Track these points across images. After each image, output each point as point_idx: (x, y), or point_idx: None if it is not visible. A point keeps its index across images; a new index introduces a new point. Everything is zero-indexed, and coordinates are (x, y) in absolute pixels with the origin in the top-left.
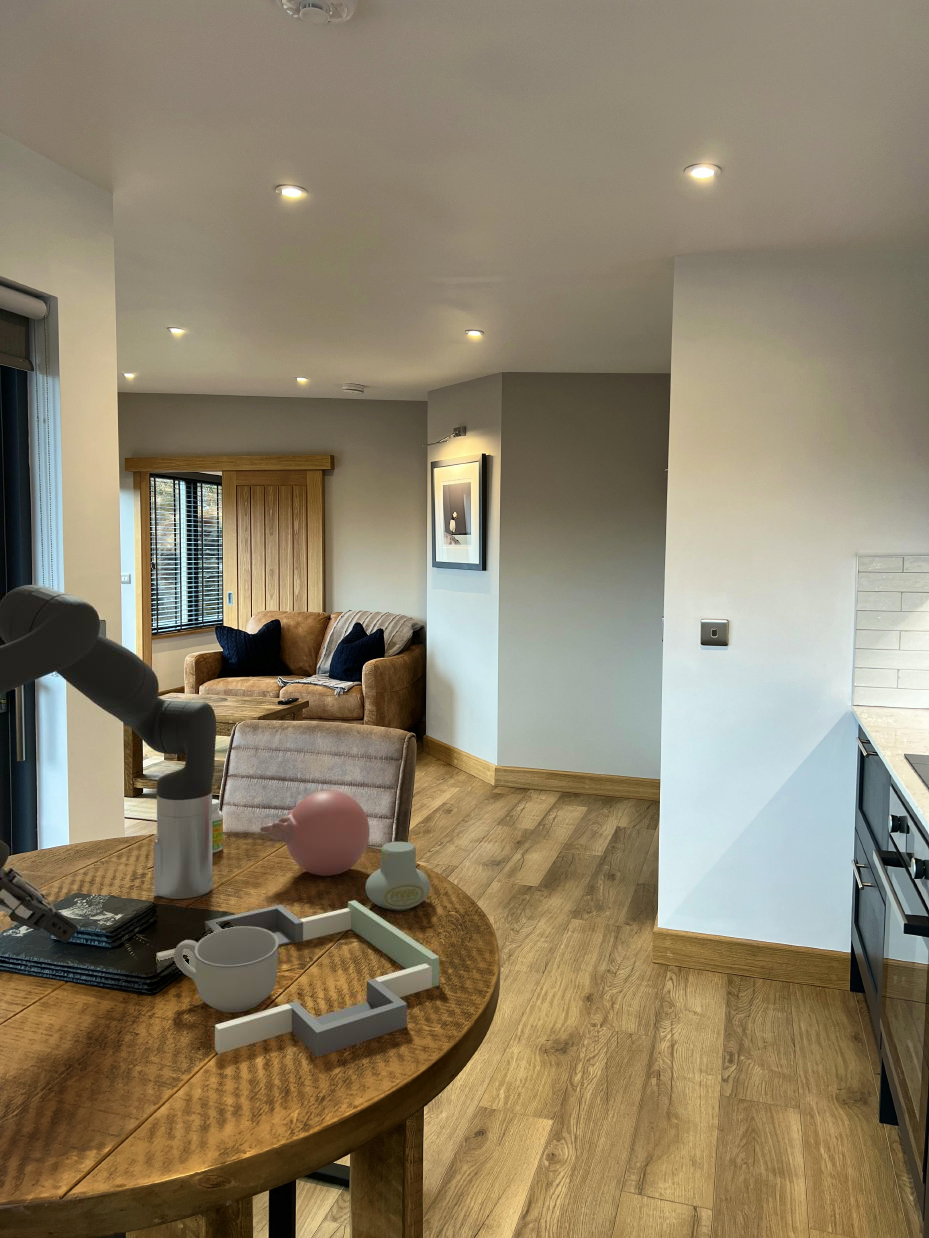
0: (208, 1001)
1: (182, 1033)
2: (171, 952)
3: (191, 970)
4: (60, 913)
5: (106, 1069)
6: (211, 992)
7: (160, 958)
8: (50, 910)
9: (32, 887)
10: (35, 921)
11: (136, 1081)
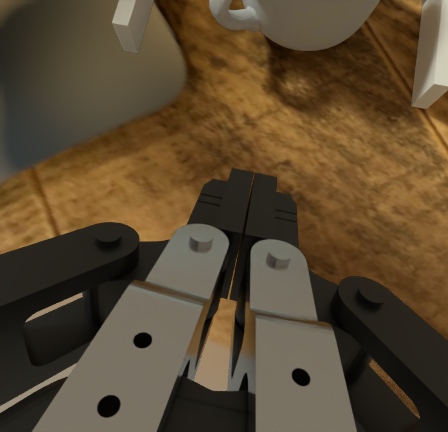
0: (321, 48)
1: (334, 115)
2: (130, 4)
3: (244, 17)
4: (238, 209)
5: (355, 244)
6: (339, 34)
7: (129, 27)
8: (383, 304)
9: (183, 352)
10: (351, 378)
11: (418, 227)
